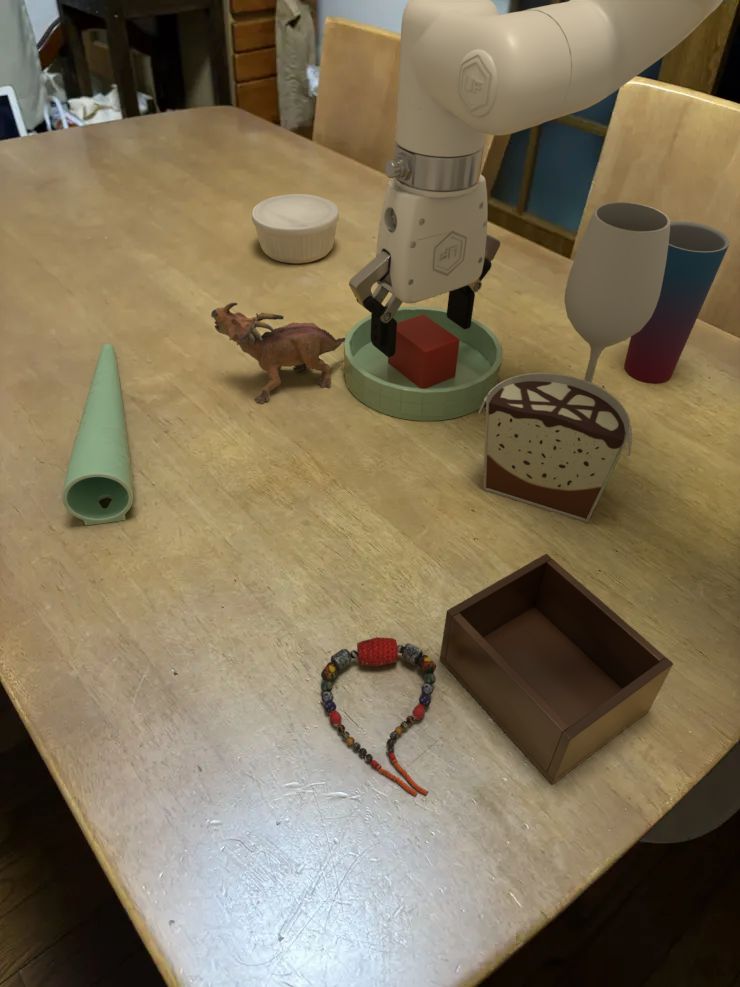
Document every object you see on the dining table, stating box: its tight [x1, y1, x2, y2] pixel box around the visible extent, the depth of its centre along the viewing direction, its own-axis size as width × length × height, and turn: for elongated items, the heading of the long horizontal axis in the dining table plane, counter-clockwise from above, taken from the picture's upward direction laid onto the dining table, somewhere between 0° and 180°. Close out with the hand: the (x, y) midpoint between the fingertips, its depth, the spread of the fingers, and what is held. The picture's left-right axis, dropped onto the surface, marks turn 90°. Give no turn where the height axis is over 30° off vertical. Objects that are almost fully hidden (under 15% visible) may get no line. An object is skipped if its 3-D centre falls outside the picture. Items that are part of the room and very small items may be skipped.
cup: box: [624, 220, 730, 384], centre depth 76 cm, size 7×7×15 cm
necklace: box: [320, 637, 437, 796], centre depth 49 cm, size 8×11×2 cm
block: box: [388, 314, 460, 389], centre depth 78 cm, size 6×4×4 cm
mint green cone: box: [61, 342, 134, 526], centre depth 70 cm, size 5×6×27 cm
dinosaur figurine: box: [210, 302, 346, 404], centre depth 75 cm, size 14×6×9 cm, turn 110°
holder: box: [439, 553, 674, 785], centre depth 50 cm, size 11×9×6 cm
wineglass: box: [564, 201, 671, 384], centre depth 66 cm, size 8×8×21 cm
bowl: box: [343, 306, 504, 422], centre depth 78 cm, size 16×16×4 cm
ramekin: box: [251, 193, 340, 264], centre depth 99 cm, size 11×11×5 cm
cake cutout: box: [478, 372, 633, 524], centre depth 64 cm, size 12×6×10 cm, turn 65°
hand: (421, 336), depth 77 cm, fingers open, 9 cm apart
